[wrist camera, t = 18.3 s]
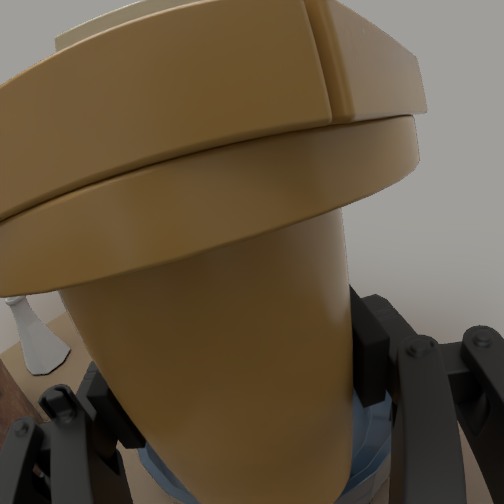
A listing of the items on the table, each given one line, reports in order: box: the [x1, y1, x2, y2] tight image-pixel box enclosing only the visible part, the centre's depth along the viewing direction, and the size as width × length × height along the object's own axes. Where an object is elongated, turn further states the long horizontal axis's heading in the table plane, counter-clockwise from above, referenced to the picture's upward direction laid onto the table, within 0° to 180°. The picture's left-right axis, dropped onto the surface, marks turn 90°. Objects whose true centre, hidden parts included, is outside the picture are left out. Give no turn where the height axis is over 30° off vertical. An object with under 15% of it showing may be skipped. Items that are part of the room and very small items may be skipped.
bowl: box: [137, 390, 392, 504], centre depth 19 cm, size 17×17×6 cm
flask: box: [5, 295, 70, 374], centre depth 32 cm, size 7×7×10 cm
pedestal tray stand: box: [0, 0, 427, 504], centre depth 9 cm, size 11×11×14 cm
